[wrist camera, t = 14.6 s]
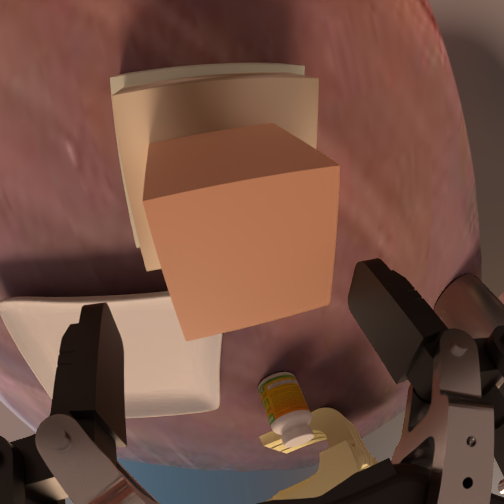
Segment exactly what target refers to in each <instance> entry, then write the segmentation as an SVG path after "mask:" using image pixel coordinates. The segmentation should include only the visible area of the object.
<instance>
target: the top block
mask: <svg viewBox="0 0 504 504" xmlns="http://www.w3.org/2000/svg"><path fill="white" fill-rule="evenodd" d="M318 90H319V78H315V77H310V76H305V75H299V74H294V73H288V72H248V73H229V74H215V75H204V76H194V77H185V78H177V79H169V80H162V81H156V82H149V83H143V84H138V85H132V86H127V87H123V88H122V89H120V90H119V91H118V92H116V93H115V94H113V95H112V96H111V98H112V105H113V113H114V120H115V126H116V133H117V139H118V145H119V151H120V156H121V162H122V167H123V173H124V178H125V183H126V188H127V192H128V197H129V202H130V206H131V211H132V215H133V220H134V224H135V228H136V232H137V236H138V240H139V244H140V248H141V252H142V256H143V260H144V264H145V267H146V271H152V270H158V269H161V265H160V262H159V259H158V255H157V252H156V249H155V245H154V242H153V238H152V235H151V231H150V228H149V224H148V220H147V217H146V213H145V209H144V205H143V202H142V201H143V190H144V180H145V171H146V163H147V155H148V147H149V144H152V143H157V142H161V141H166V140H171V139H175V138H180V137H185V136H191V135H196V134H201V133H207V132H213V131H219V130H225V129H231V128H238V127H245V126H252V125H260V124H268V123H274V124H276V125H277V126H279V127H281V128H282V129H284V130H286V131H287V132H289V133H291V134H292V135H294V136H296V137H297V138H299V139H300V140H302V141H304V142H305V143H307V144H308V145H310V146H312V147H313V148H315V149H316V141H317V120H318Z"/></svg>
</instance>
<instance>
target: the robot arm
mask: <svg viewBox="0 0 504 504" xmlns="http://www.w3.org/2000/svg"><path fill="white" fill-rule="evenodd" d="M421 297H422V296H421V295H420V294H419V293H418V292H417V290H414V287H413V286H412V285H411V284H410V282H409V281H408V280H407V279H406V278H405V277H403V276H402V275H400V274H398V273H397V272H395V271H394V270H390V269H389V268H388V267H387V265H386V264H385V263H384V262H383V261H382V260H381V259H379V258H376V259H371V260H366V261H361V262H358V263H357V264H356V266H355V270H354V274H353V279H352V283H351V287H350V291H349V295H348V305H349V309H350V311H351V313H352V315H353V316H354V318H355V319H356V321H357V322H358V324H359V325H360V327H361V329H362V330H363V332H364V333H365V335H366V336H367V338H368V339H369V341H370V343H371V344H372V346H373V347H374V349H375V350H376V352H377V354H378V355H379V357H380V358H381V360H382V362H383V363H384V365H385V366H386V368H387V370H388V371H389V373H390V375H391V376H392V378H393V379H394V381H395V383H396V384H398V383H401V382H403V381H405V380H409V381H410V383H411V384H410V386H409V389H408V395H407V403H406V411H405V418H404V424H403V430H402V435H401V439H400V441H399V443H398V445H397V447H396V449H395V451H394V454H393V457H392V460H391V461H390V459H389V458H388V459H386V460H384V461H382V462H379V463H377V464H375V465H373V466H370V467H368V468H366V469H363V470H361V471H359V472H356V473H354V474H353V475H351V476H350V477H349V478H347V479H346V480H344V481H343V482H341V483H340V484H338V485H337V486H335V487H334V488H332V489H331V490H329V491H328V492H326V493H325V494H323V495H321V496H319V497H314V498H301V499H285V500H270V501H266V502H262V503H258V504H504V497H501V496H498V495H495V494H492V493H491V488H492V477H493V461H494V457H495V459H496V461H497V463H498V465H499V467H500V469H501V472H502V474H503V476H504V304H503V303H502V302H501V301H500V300H499V299H498V298H497V297H496V296H495V295H494V294H493V293H492V292H491V291H490V290H489V288H488V287H487V286H486V285H485V284H483V282H482V281H481V280H480V279H479V278H478V277H473V276H472V275H471V274H465V275H463V276H461V277H459V278H458V279H456V280H455V281H454V282H453V283H451V284H450V285H449V286H448V288H447V289H446V290H445V291H444V292H443V293H442V295H441V296H440V298H439V299H438V301H437V303H436V305H435V308H434V310H433V309H432V308H431V307H430V306H429V305H428V303H427V302H426V301H425V300H424V299H422V298H421ZM59 353H60V355H59V356H58V362H57V365H58V367H57V368H56V374H55V381H54V389H53V397H52V406H51V413H50V416H49V417H48V418H46V419H45V420H44V421H43V422H42V423H41V424H40V425H39V427H38V429H37V432H36V434H34V435H32V436H29V437H26V438H23V439H19V440H16V441H13V442H8V441H7V440H6V439H5V438H3V437H2V436H0V504H65V498H67V497H69V498H70V499H71V500H72V502H73V503H74V504H160V503H159V502H158V501H157V500H155V499H154V498H153V497H152V496H151V495H150V494H149V493H148V492H147V491H146V490H145V489H144V488H143V487H142V486H141V485H140V484H139V483H138V482H137V481H136V480H135V479H134V478H133V477H132V476H131V475H130V474H129V473H128V472H127V471H126V470H125V469H124V468H123V467H122V465H121V464H120V463H119V462H118V461H117V455H116V447H127V439H126V423H125V398H124V347H123V342H122V338H121V335H120V333H119V330H118V328H117V326H116V323H115V321H114V318H113V316H112V313H111V311H110V308H109V306H108V304H107V303H106V302H104V303H96V304H89V305H83V306H82V308H81V313H80V318H79V323H76V324H70V325H69V327H68V328H67V330H66V332H65V333H64V335H63V336H62V339H61V344H60V350H59ZM498 490H499V492H500V493H502V494H504V479H503V480H501V481H500V483H499V485H498Z"/></svg>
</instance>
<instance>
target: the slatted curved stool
mask: <svg viewBox="0 0 504 504" xmlns="http://www.w3.org/2000/svg"><path fill="white" fill-rule="evenodd" d="M311 416H312V419H311V422H310V423H309V425H308V426H310V427H311V428H312V431H313V433H314V437H313V439H311V440H310V441H308V442H306V443H304V444H302V445H299V446H296V447H289V448H288V447H285V446H284V444H283V442H282V439H281V436H282V435H280V434H276V433H275V432H274V431H271V432H268V433H266V434H264V435H262V436H259V438H260V440H261V441H262V443H263V445H264V446H266V447H269V448H271V447H272V449H275V450H278V451H281V452H284V453H289V452H291V451H294V450H296V449H298V448H301V447H303V446H306V445H309V444H311V443H314V442H317V441H321V440H326V439H328V442H329V449H327V450H325V451H323V452H320V453H319V455H320V465H319V469H318V471H317V473H315V474H314V475H313V476H311V477H309V478H308V479H306V480H304V481H302V482H300V483H298V484H296V485H294V486H292V487H289V488H287V489H284V490H282V491H279V492H278V494H277V495H274V496H272V497H273V499H270V500H285V499H301V498H314V497H319V496H321V495H323V494H325V493H326V492H328V491H329V490H331V489H332V488H334V487H335V486H337V485H338V484H340V483H341V482H343V481H344V480H346V479H347V478H349V477H350V476H351V475H353V474H354V473H356V472H359V471H361V470H363V469H366V468H368V467H370V466H373V465H375V464H377V463H378V462H377V460H376V458H373V457H372V456H371V454H370V453H369V452H368V450H367V448H366V446H365V444H364V443H363V441H362V439H361V437H360V435H359V433H358V431H357V429H356V427H355V426H354V425H353V424H352V423H351V422H350V421H349V420H348V419H347V418H345V417H344V416H343V415H342V414H341V413H340V412H338V411H337V410H335V409H332V408H319V409H316V410H314V411H313V412H311ZM270 500H267V501H270Z"/></svg>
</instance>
